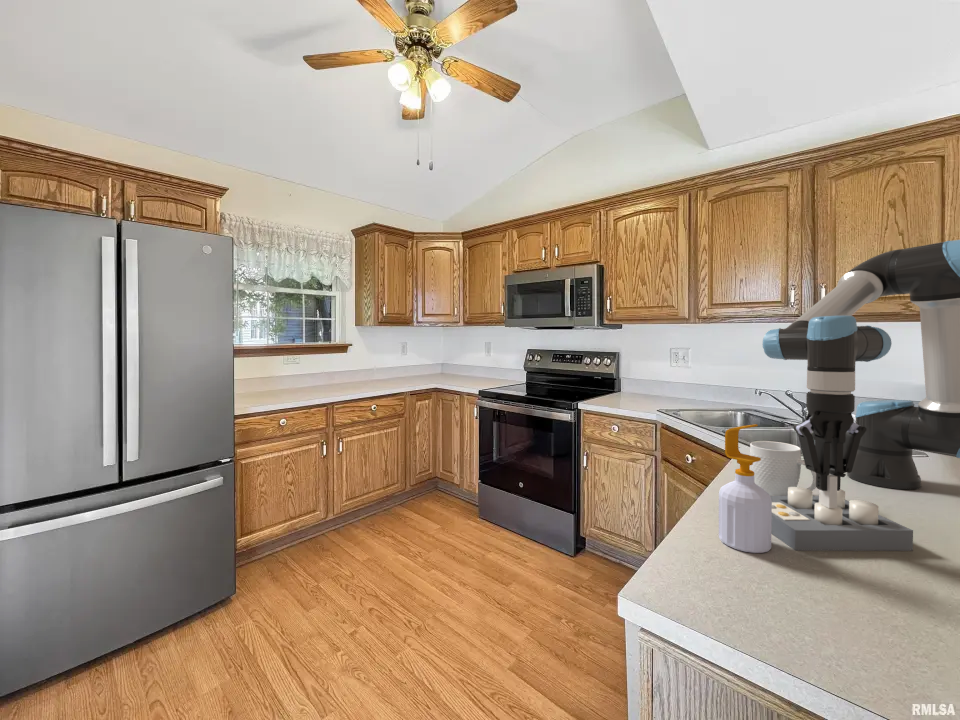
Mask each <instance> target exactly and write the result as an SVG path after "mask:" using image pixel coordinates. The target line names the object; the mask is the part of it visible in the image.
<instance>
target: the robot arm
mask: <svg viewBox="0 0 960 720" xmlns="http://www.w3.org/2000/svg"><path fill="white" fill-rule="evenodd" d="M908 294H909V300H910V303H912V304H914V305H915V306H917V307H918V308H919V317H920V332H921V343H922V344H921V348H922V358H923V359H922V361H923V372H924V386H925V387H924V388H925V398H922V400H921V401H919V402H918V404H917V406H916V405H915V403H914V401H912V400H910V399H909V400H905V399H888V400H887V399H885V400H884V399H883V400H882V399H881V400H866V401H862V402H859V403H857V406H856V405H855V404H856V403H855V402H856V400H855V399H856V396H855V395H854V393H852V392H855V390H856V362H866V363H869V362H871V361H875V360H879V359H882V358H883V357H885V356H886V355H887V354H888V353H889V352H890V349H891V347H892V339H891V336H890V334H889V333H888V332H886V330H884V329H883V328H880V327H876V326H872V325H857V319H856V317H855V316H853V315H854V314H856V312H857V311H858V310H860V309H861V308H862V307H863V306H865V304H867V305H868V304H870V303H873V302H874V301H876V300H878V299H879V298H882V297H886V296H887V297H888V296H893V295H894V296H895V295H908ZM762 348H763V352H764V354H765V355H766V356H767V357H768V358H770V359H775V360H784V361H787V360H794V361H795V360H797V361H798V360H799V361H807V366H806V367H807V369H806V388H807V389H808V390H810V391H807V393H806V396H805V397H806V400H805V403H806V404H805V406H806V409H807V415H806V416H805V421H804V422H802V423H800V424H794V425H793V427H792V428H793V430H794V431H795V433H796V434H797V436H798V440H799V445H800V448H801V455H802V457H803V458H802V459H803V460H804V462H805V465H804V466H805V469H806V470H809V471H810V470H811V471H813V472H815V473H816V489H818V496H819V503H820V504H822V505H824V506H826V507H828V508H837V491H839V490H840V489H841V478H845V477H846V476H847V477H849V478H850V479H852V480H854V481H856V482H860V483H863V484H867V485H870V486H871V485H872V486H875V487H882V488H888V489H897V490H916V489H920V488H921V487H922V478H921V475H919V472H918V469H917V466H916V463H915V461H914V458H913V451H920V452H926V453H931V454H936V455H942V456H949V457H953V458H957V459H960V239H955V240H954V239H953V240H946V241H942V242H935V243H930V244H925V245H920V246H919V245H917V246H913V247H912V246H911V247H906V248H898V249H894V250H889V251H885V252H882V253H880V254H877V255H875V256H873V257H869V259H867V260H865V261H862V262H861V263H859V264H857V265H856V266H854V267H853V268H851V269H850V270H848V272H846V273H845V274H844V275H842V276H841V277H840V278H839V280H838V281H837V284H836V286H835V287H834V288H833V289H832V290H830V291H829V292H828V293H827V294H825V296H823V297H822V298H821V299H820V300H818V301H817V302H816V303H815V304H814V305H812V306H811V307H810V308H809V309H808V310H806V311H805V312H804V313H802V315H800V316H799V317H798V318H797V319H795V320H794V321H793V322H792V323H791V324H789V325H788V326H787V327H785V328H781V327H779V328H774V329H773V328H772V329H770V330H768V331H766V332H765V334H764V336H763V339H762ZM855 406H856V410H855ZM853 412H855V413H856V414H855V417H854V416H853V415H852V413H853ZM854 418H855V419H854ZM811 471H810V472H811Z"/></svg>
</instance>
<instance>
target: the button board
mask: <svg viewBox="0 0 960 720" xmlns="http://www.w3.org/2000/svg"><path fill="white" fill-rule="evenodd" d="M770 497H771V501H772V529H771V535H773V536H774V537H776V538H777V539H778V540H780V541H781V542H783V543H784V544H785V545H787V546H789V547H790V548H791V549H793V550H794V551H857V552H858V551H863V552H865V551H870V552H871V551H874V552H875V551H876V552H877V551H879V552H880V551H887V552H889V551H890V552H891V551H892V552H893V551H896V552H897V551H898V552H899V551H901V552H902V551H907V552H908V551H909V552H911V551H912V552H913V551H914V549H913V548H914V529H911V528H908V527H906V526H905V525H903V524H900V523H898V522H895V521H893V520H891V519H889V518H887V517H884V516H882V515H880V514H878V525H860V524H858V523H856V522H854V521H852V520H850V519H849V501H850V500H847V499H845V509H842V525H824V524H822V523H820V522H818V521H817V520H815V519H814V509H815V503H818V502H819V495H813V496H812V509H795V508H793V507H792V506H790V505H788V496H770Z"/></svg>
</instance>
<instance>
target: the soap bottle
mask: <svg viewBox="0 0 960 720" xmlns="http://www.w3.org/2000/svg"><path fill="white" fill-rule="evenodd" d="M755 427H758V423H757V424H749V425H741V426H737V427H730V428H728V429H727V430H725V433H724V453H725V454H724V455H725V456H726V457H727V458H729V459H731V460H736V464H739V468H736V469H734V471H735V472H734V480H733V481H730V482H727V483H726V484H724V485H722V486H720V489H719V490H718V491H719V492H718V539H719V540H720V541H721V542H722V543H723V544H725V545H726V546H728V547H730V548H732V549H735V550H738V551H740V552H744V553H750V554H761V553H767V552H769V551H770V550H771V549H772V534H771V529H772V501H771V497H770V495H769V494H768V493H767V492H766V491H765V490H764V489H763V488H761V487H760V486H758V485H756V484H755V482H754V471H751V467H750V466H751V465H753V462H757V461H761V458H759V457H755V456H750V454H746V453H742V452H741V451H740V450H739V434H740V430H743V429H751V428H755Z"/></svg>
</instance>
